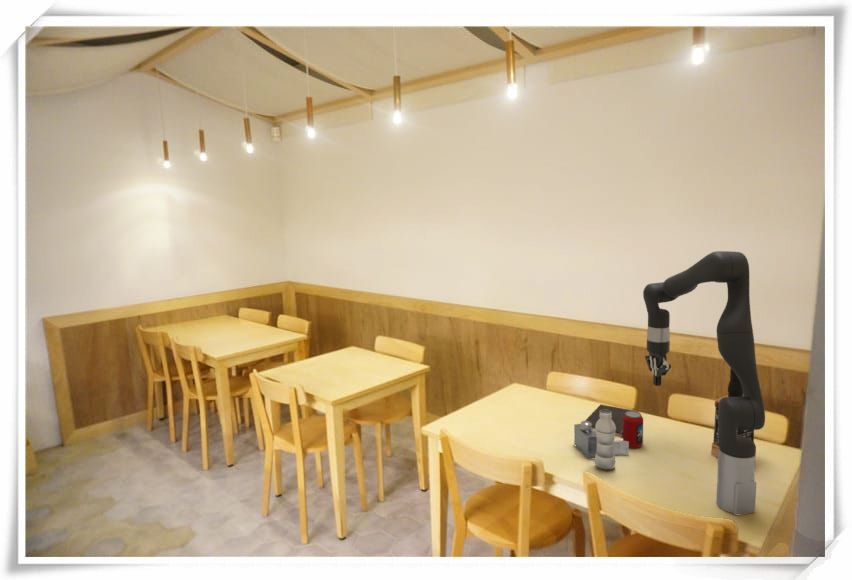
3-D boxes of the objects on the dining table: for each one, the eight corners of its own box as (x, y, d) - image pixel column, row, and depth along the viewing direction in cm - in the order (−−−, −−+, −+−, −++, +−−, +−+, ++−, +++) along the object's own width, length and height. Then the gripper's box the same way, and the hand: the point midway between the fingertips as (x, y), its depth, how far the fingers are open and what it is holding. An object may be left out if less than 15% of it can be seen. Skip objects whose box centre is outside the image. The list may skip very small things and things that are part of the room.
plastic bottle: (599, 460, 191) (599, 406, 187) (618, 466, 186) (619, 410, 183) (591, 468, 186) (591, 412, 182) (611, 474, 181) (611, 417, 178)
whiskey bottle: (708, 453, 191) (712, 365, 185) (730, 447, 195) (734, 361, 189) (734, 467, 182) (739, 374, 176) (756, 460, 185) (762, 369, 179)
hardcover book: (581, 430, 216) (581, 424, 216) (600, 409, 234) (600, 404, 234) (622, 439, 207) (622, 433, 206) (639, 416, 225) (639, 411, 225)
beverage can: (644, 449, 197) (645, 418, 194) (624, 448, 198) (624, 417, 196) (640, 441, 203) (641, 410, 201) (621, 440, 205) (622, 409, 202)
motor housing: (610, 438, 207) (610, 411, 205) (629, 455, 193) (630, 426, 191) (572, 443, 204) (572, 415, 202) (589, 461, 191) (589, 431, 189)
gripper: (679, 342, 189) (677, 390, 192) (657, 332, 202) (656, 377, 205) (659, 344, 188) (657, 392, 191) (638, 334, 201) (637, 380, 204)
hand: (657, 384), depth 198 cm, fingers closed
